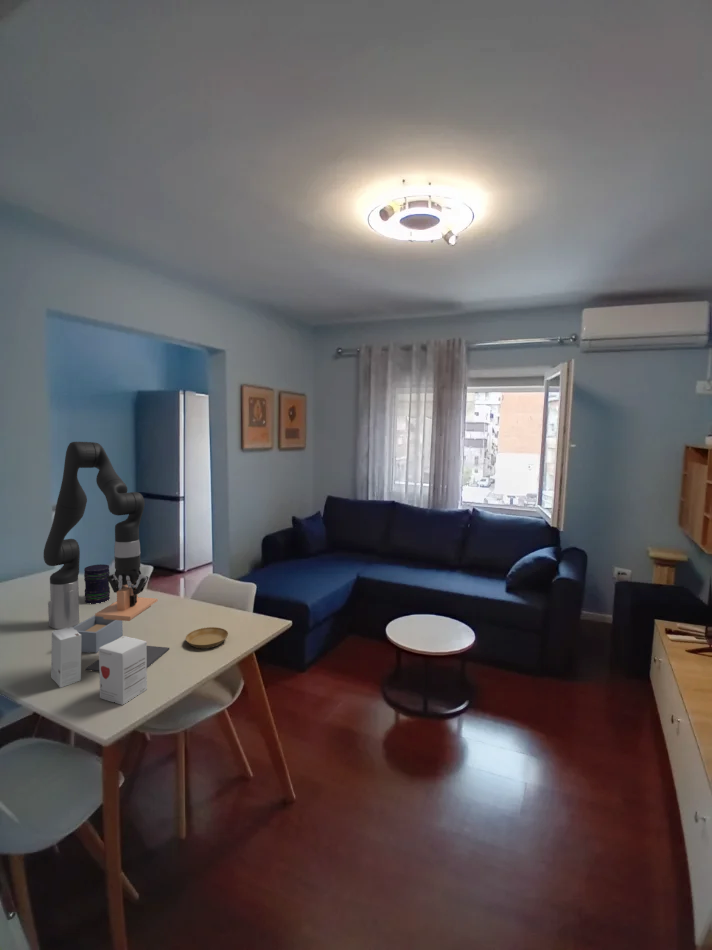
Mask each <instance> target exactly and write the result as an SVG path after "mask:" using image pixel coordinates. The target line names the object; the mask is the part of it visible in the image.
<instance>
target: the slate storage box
mask: <svg viewBox="0 0 712 950" xmlns="http://www.w3.org/2000/svg"><path fill="white" fill-rule="evenodd" d="M73 628H74V629H75V630H77V632H78V633H79V634H81V653H82V652H83V653H90V652H95V653H94V654H97V653H99V652H98V651H99V648H100V647H102V646H104V645H106V644H108V643H110V642H112V641H114V640H116V639H119V638H121V637H122V636H124V635H123V632H124V631H123V629H124V628H123V621H122V620H109V619H104V618H103V617H99V616H95V614H94V615H92V616H90V617H89V618H87V619H86V620H83V621H81V622H79V623H78V624H77V625H75V626H73Z"/></svg>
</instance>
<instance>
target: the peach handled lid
mask: <svg viewBox="0 0 712 950" xmlns="http://www.w3.org/2000/svg"><path fill="white" fill-rule="evenodd" d="M132 585H133V584H132ZM138 595H139V594H137V603H136V604H135V605H134V606H133V607H130V596H131V595H130V591H129V589H128V586H126V587H124V588H123V589H121V590H119V591H117V592H116V601H115V602H113V603H111V604H110V605H108V606H106V607H104V608H102V609H101V610H99V611H97V612H95V613H94V615H95V616H99V617H103V618H104V619H109V620H122V622H124V621H125V622H130V621H132V620H133V619H135V618H136V617H138V616H139V615H140V614H142V613H144V612H145V611H147V610H148V609H150V608H151V607H152V606H153V605H154V604H155V603H157V602H158V600H159V598H153V597H152V598H151V597H140V596H139V597H138Z"/></svg>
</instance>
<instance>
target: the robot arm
mask: <svg viewBox="0 0 712 950" xmlns="http://www.w3.org/2000/svg"><path fill="white" fill-rule="evenodd" d="M63 465H64V466H63V475H62V480H61V484H60V487H59V488H60V489H59V492H58V497H57V500H56V505H55V511H54V516H53V519H52V525H51V528H50V531H49V533H48V537H47V538H46V542H45V544H44V548H43V560H44V561H43V562H44V563H45V564H46V565H47V566H49V567H55V566H61V568H60V569H57V570H56V571H54V572H52V574H51V575H50V576H49V593H50V595H49V596H50V597H49V598H50V601H48V603H47V605H48V606H47V607H48V608H47V613H48V627H50V628H52V629H55V630H60V629H64V628H68V627H74V626H76V625H78V624H79V623H80V596H79V574H80V558H81V557H80V556H81V554H80V553H81V549H80V546H79V545H80V544H79V542H78V541H77V540H76V539H74V538H67V539H65V538H66V537H67V535H68V534H69V532H70V531H71V530H72V529H73V528H74V527H76V525H77V524H78V523H79V522H80V521H81V519H82V518H83V516H84V515H85V512H86V506H87V502H88V498H87V494H86V492H85V490H84V488H83V486H81V483H80V482H79V479H78V471H79V470H80V468H81V469H83V468H84V469H91V468H92V469H93V468H96V469H97V470H98V472H97V475H96V481H95V482H96V485H97V487H98V488H99V490H100V491H101V492H102V493H103V496H104V497H105V499H106V503H107V509H108V511H109V512H110V513H111V514H112V515H114V516H125V515H128V516H127V518H126V519H124V520H122V521H119V522H118V523H115V526H114V546H113V547H114V569H115V571H114V573H113V574H109V576H108V577H107V579H108V581H109V586H110V587H111V589H112V591H113V593H116V594H117V591H119V590H121V589H123V588H124V587H126V586H128V589H129V591H130V595H131V596H130V607H133V606H134V605H135V604H136V603H137V594H138V595H139V594H141V593H143V591H144V589H145V587H146V585H147V583H148V580H149V579H150V578H149V576H148V575H146V576H144V575H143V574H142V572H141V543H140V524H141V520H142V516H143V513H144V510H145V498H144V496H143V494H142V493H140V492H138V491H134V492H133V491H132V492H128V486H127V484H126V483H125V482H124V481H123V479H122V478H121V477H120V476H119V475H118V473H117V472H116V470H115V468H114V466H113V465H112V463H111V461H110V458H109V456H108V455H107V452H106V451H105V448H103V446H102V444H100V443H99V442H94V441H71V442H70V443H68V445H67V447H66V452H65V458H64V464H63ZM132 584H133V585H132Z"/></svg>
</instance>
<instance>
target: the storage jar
mask: <svg viewBox="0 0 712 950" xmlns="http://www.w3.org/2000/svg"><path fill="white" fill-rule="evenodd" d="M83 569H84V570H83V571H84V574H83V575H84V576H83V577H84V583H85V586H84V587H85V588H84V603H85V602H86V603H85V604H87V603H91V604H90V605H97V604H96V603H99V604H102V603H101V602H104V603H106V602H105V601H107V600H108V601H110V600H109V599H110V598H111V597H110V596H111V588H110V587H111V586H110V583H109V581H108V579H107V577H108V576H110V575H111V574H110V566H109V565H108V564H100V563H99V564H93V565H92V564H91V565H89V566H86V567H84V568H83ZM108 601H107V602H108Z"/></svg>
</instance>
